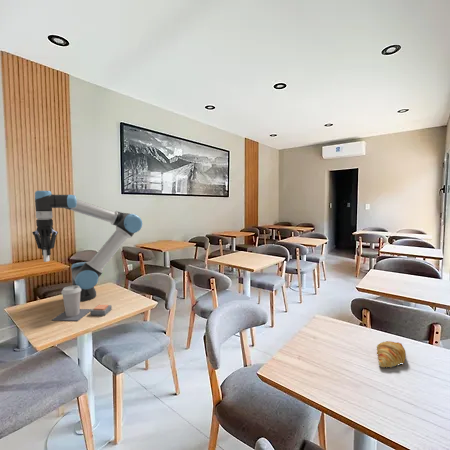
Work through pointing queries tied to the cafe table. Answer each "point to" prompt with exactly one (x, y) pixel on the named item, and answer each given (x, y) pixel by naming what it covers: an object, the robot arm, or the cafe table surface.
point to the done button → (101, 307)
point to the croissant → (390, 354)
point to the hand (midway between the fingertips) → (46, 261)
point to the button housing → (101, 311)
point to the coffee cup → (71, 300)
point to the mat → (74, 318)
